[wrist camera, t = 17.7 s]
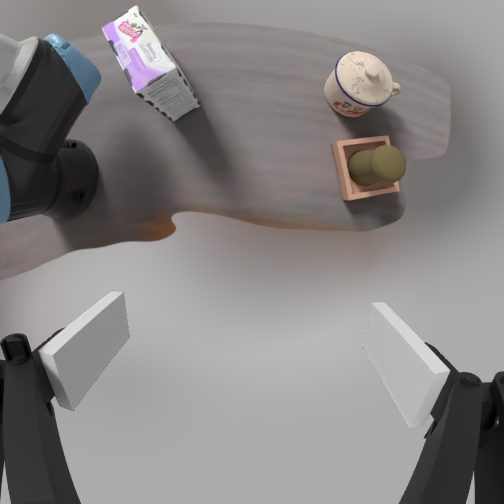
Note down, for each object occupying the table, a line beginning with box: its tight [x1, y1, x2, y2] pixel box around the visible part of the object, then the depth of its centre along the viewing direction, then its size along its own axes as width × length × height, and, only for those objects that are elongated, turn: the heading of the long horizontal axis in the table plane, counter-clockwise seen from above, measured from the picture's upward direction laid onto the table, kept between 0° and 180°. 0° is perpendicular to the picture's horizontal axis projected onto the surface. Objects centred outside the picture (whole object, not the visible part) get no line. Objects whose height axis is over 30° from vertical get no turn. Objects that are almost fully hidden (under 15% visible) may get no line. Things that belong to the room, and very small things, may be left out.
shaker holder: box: [331, 135, 399, 200], centre depth 42 cm, size 9×9×4 cm
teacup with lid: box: [324, 52, 401, 117], centre depth 35 cm, size 12×9×12 cm
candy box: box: [102, 6, 201, 122], centre depth 33 cm, size 14×6×16 cm, turn 29°
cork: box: [347, 145, 406, 186], centre depth 37 cm, size 6×6×11 cm
